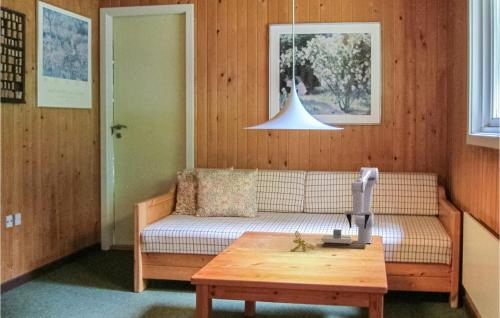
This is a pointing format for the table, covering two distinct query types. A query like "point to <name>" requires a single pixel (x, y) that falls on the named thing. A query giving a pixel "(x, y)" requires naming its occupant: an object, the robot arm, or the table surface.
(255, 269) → the table surface
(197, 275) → the table surface
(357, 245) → the track board
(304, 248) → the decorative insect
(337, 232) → the block
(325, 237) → the shallow rimmed tray
